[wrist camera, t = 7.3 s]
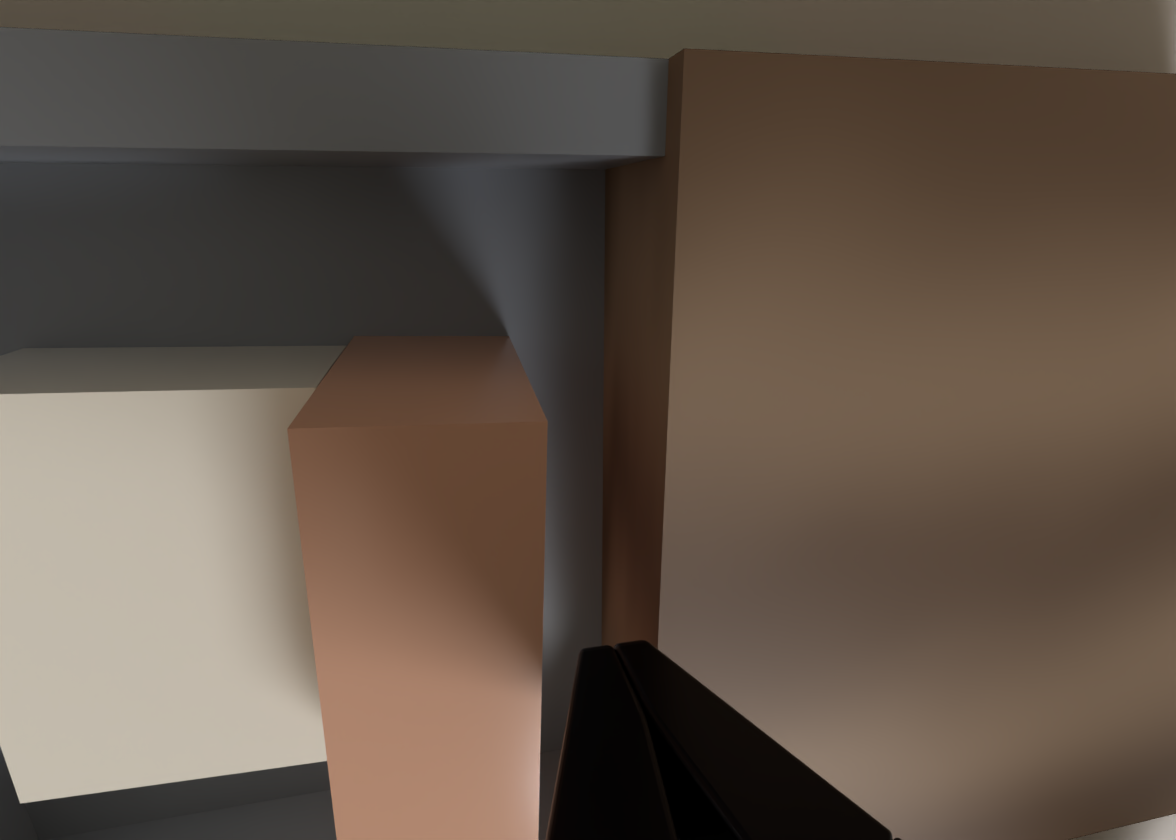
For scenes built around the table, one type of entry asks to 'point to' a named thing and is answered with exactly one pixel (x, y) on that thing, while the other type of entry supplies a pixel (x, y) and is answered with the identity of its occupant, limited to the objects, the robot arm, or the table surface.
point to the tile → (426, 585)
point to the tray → (322, 275)
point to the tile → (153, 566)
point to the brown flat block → (907, 428)
